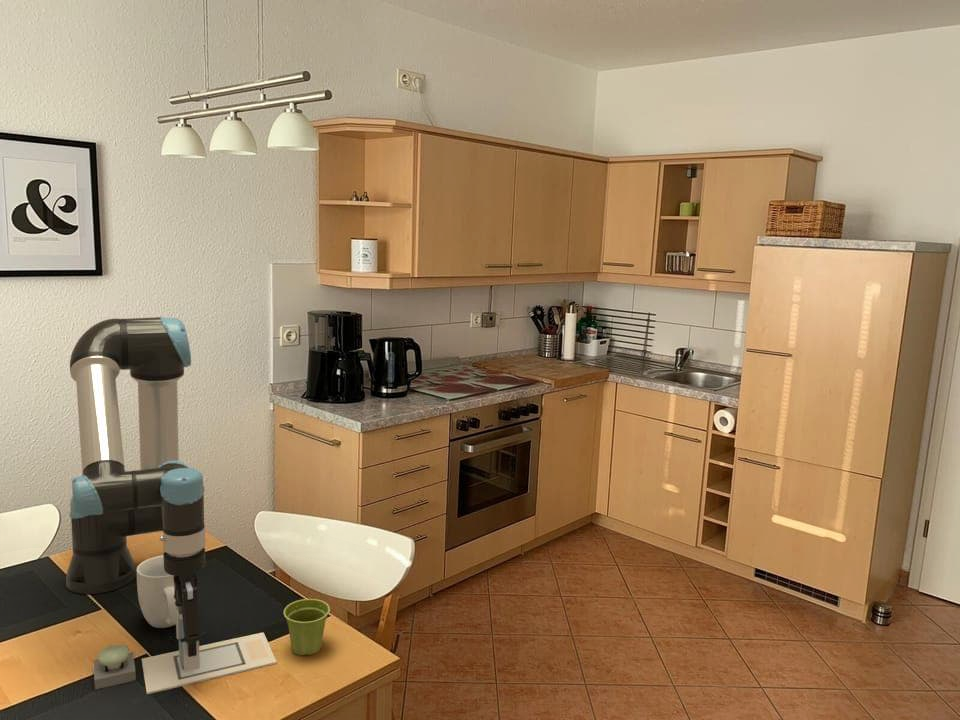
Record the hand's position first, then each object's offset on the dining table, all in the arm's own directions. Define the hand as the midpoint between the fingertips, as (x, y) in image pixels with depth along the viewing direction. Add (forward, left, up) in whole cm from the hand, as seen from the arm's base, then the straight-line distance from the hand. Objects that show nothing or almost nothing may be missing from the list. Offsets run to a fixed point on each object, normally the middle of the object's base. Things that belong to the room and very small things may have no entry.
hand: (187, 652), depth 147 cm
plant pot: (+3, +23, -3) cm, 23 cm away
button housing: (-3, -13, -3) cm, 14 cm away
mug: (-19, -2, -3) cm, 19 cm away
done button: (-3, -13, -2) cm, 13 cm away
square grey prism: (0, 0, -3) cm, 3 cm away
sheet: (0, +4, -3) cm, 5 cm away
